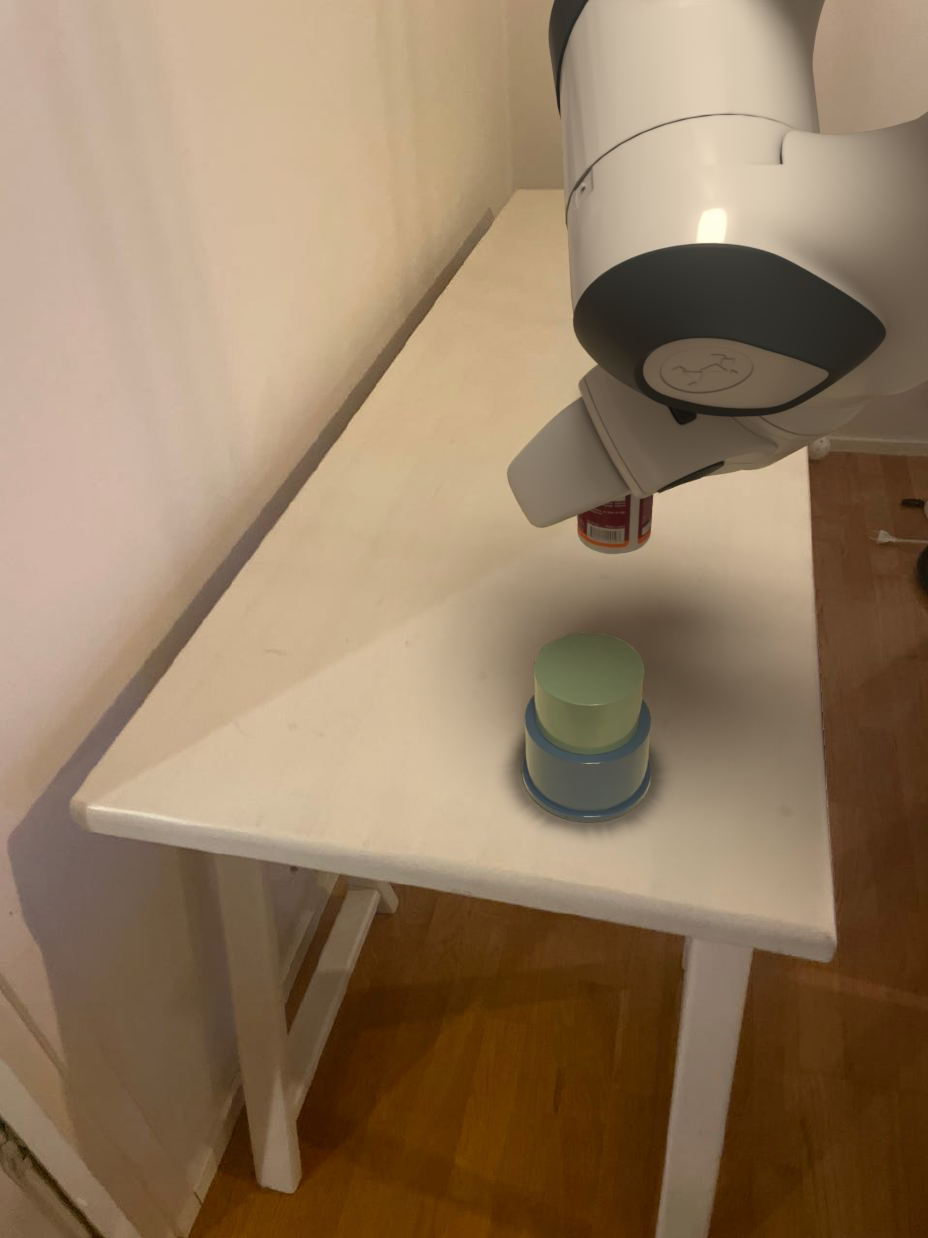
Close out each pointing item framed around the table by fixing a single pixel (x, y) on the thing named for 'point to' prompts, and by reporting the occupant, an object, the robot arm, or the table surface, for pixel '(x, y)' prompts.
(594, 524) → the pill bottle
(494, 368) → the table surface
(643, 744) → the cup stack
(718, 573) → the table surface
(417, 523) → the table surface
